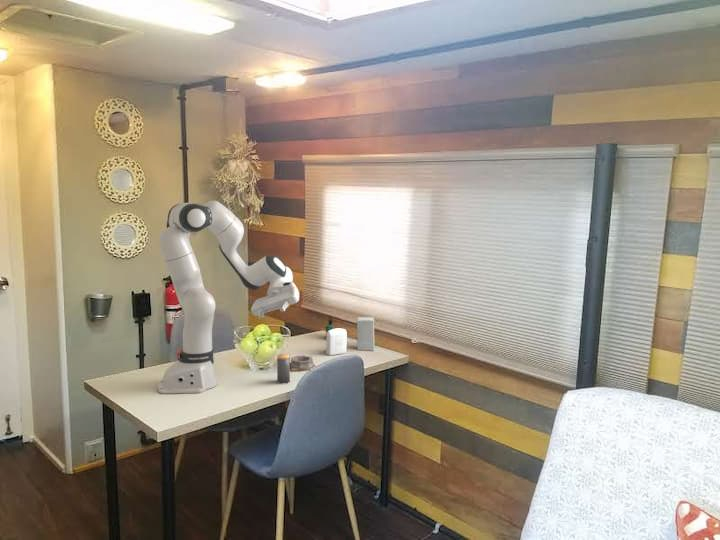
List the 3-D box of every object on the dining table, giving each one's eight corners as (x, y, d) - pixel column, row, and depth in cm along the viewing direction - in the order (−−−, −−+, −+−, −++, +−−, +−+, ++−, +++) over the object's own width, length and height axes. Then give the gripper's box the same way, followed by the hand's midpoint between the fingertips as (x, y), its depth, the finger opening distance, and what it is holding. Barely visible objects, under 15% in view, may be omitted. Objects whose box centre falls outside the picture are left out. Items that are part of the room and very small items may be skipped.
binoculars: (345, 322, 284) (326, 321, 282) (343, 342, 285) (324, 340, 284) (344, 318, 292) (325, 317, 291) (341, 337, 294) (323, 336, 293)
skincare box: (374, 347, 273) (375, 316, 271) (373, 351, 266) (374, 319, 264) (357, 346, 274) (358, 316, 272) (356, 350, 267) (356, 319, 265)
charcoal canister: (278, 384, 218) (278, 357, 216) (276, 380, 223) (276, 354, 221) (290, 383, 219) (290, 356, 218) (288, 379, 224) (288, 353, 223)
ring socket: (291, 371, 234) (291, 363, 233) (287, 364, 244) (287, 356, 243) (316, 369, 237) (316, 361, 236) (311, 362, 247) (311, 354, 247)
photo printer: (343, 351, 266) (343, 326, 264) (347, 353, 263) (348, 328, 261) (324, 354, 260) (325, 329, 259) (329, 356, 257) (329, 330, 255)
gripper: (252, 295, 226) (244, 315, 214) (296, 280, 221) (290, 300, 209) (259, 306, 229) (252, 327, 217) (303, 292, 224) (297, 312, 212)
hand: (271, 313), depth 213 cm, fingers open, 8 cm apart
